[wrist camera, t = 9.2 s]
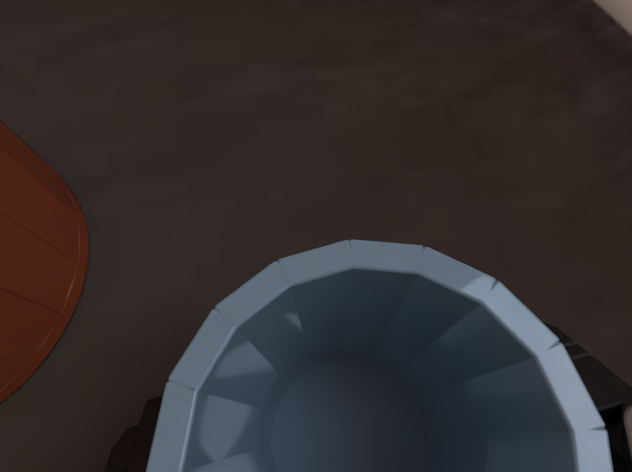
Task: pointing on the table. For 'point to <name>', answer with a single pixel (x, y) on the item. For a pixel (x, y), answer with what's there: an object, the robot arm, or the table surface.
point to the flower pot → (35, 259)
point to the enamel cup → (376, 374)
